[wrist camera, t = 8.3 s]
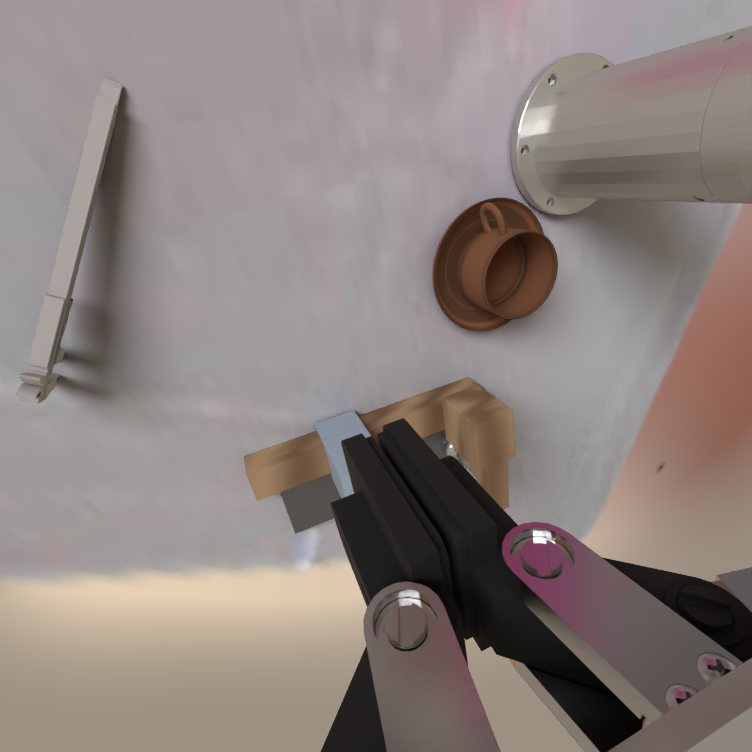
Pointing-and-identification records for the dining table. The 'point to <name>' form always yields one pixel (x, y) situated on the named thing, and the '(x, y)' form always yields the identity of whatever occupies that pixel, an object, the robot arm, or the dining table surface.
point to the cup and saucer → (493, 265)
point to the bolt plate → (315, 496)
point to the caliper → (70, 249)
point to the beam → (426, 416)
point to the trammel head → (340, 446)
